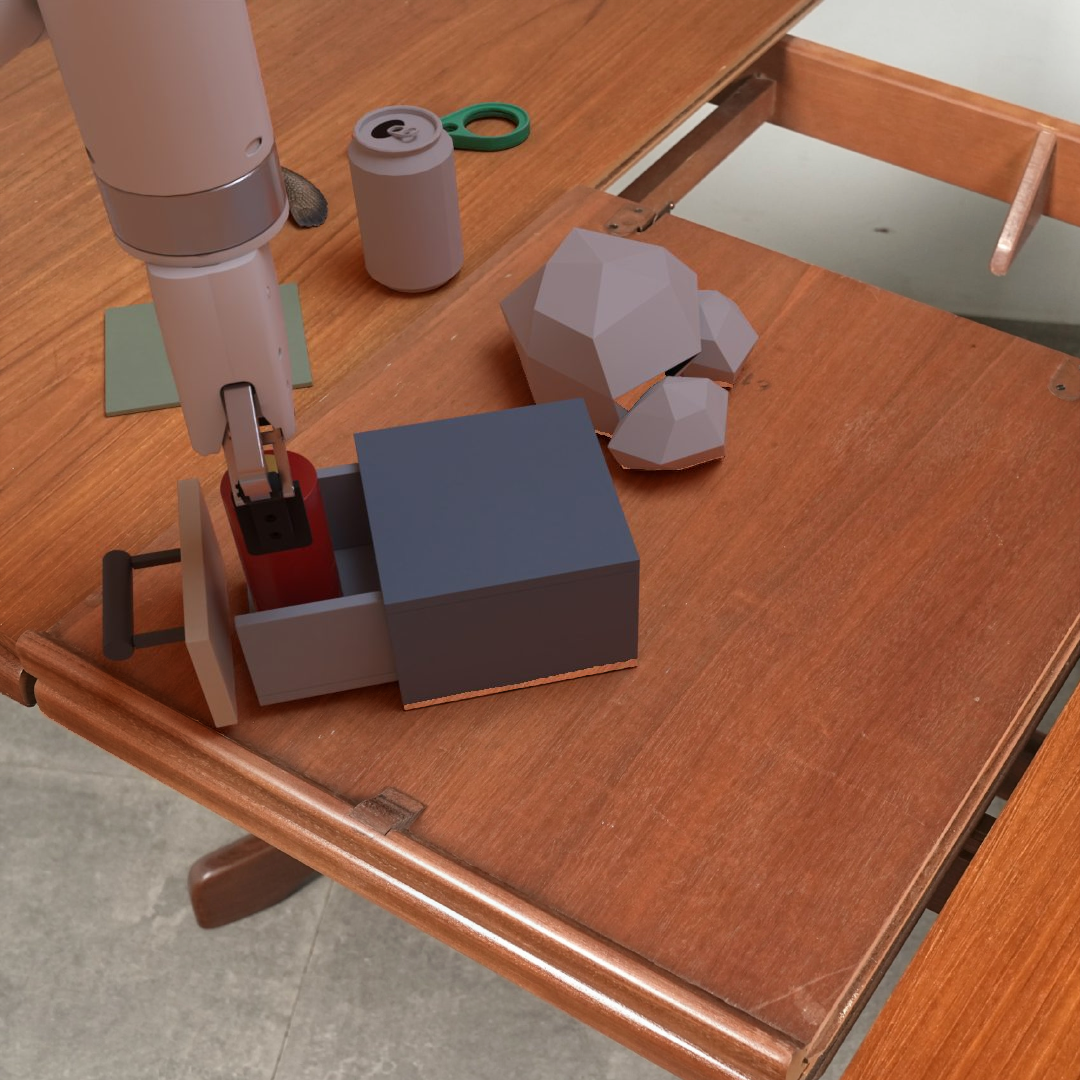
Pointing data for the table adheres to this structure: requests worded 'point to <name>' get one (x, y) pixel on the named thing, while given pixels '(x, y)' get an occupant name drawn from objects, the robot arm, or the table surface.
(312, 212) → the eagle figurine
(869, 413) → the table surface
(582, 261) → the rock
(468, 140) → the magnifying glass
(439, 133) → the can
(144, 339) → the mat
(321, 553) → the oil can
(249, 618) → the drawer
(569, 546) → the cabinet
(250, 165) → the robot arm
